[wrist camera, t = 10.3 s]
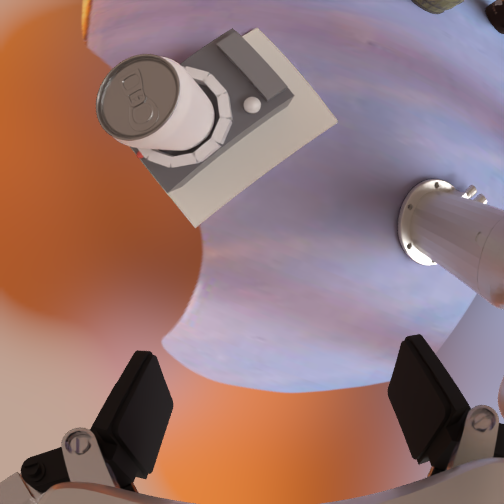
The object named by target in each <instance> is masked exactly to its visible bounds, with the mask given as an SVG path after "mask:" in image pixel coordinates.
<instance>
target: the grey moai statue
mask: <svg viewBox="0 0 504 504" xmlns="http://www.w3.org/2000/svg"><path fill="white" fill-rule="evenodd" d="M412 1H413V2H414V3H415V4H416V5H418V6H419V7H420V8H422V9H424V10H425V11H427V12H430V13H432V14H440V13H442V12H444V11H445V10H448V9H451V8H453V7H454V6H456V5H458V4H460V3H461V2H463V1H464V0H412Z"/></svg>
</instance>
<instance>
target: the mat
mask: <svg viewBox="0 0 504 504" xmlns="http://www.w3.org/2000/svg"><path fill="white" fill-rule="evenodd" d="M242 37H243V38H244V39H245V40H246V41H247V42H248V43H249V44H250V45H251V46H252V47H253V48H254V50H255V51H256V52H257V53H258V54H259V55H260V56H261V57H262V58H263V59H264V60H265V61H266V62H267V63H268V64H269V66H270V67H271V68H272V69H273V70H274V71H275V72H276V73H277V75H278V76H279V77H280V78H281V79H282V80H283V81H284V83H285V84H286V85H287V86H288V88H289V89H290V91H291V92H292V93H293V94H294V97H293V99H292V100H291V102H290V103H289V105H288V106H287V107H286V108H284V109H283V110H281V111H280V112H279V113H277V114H276V115H274V116H273V117H271V118H270V119H268V120H267V121H266V122H264V123H263V124H261V125H260V126H259V127H257V128H256V129H254V130H253V131H252V132H250V133H249V134H248V135H246V136H245V137H244V138H242V139H241V140H240V141H238V142H237V143H236V144H234V145H233V146H232V147H230V148H229V149H228V150H227V151H225V152H224V153H223V154H221V155H220V156H219V157H218V158H216V159H215V160H214V161H213V162H211V163H210V164H209V165H208V166H206V167H205V168H204V169H203V170H201V171H200V172H199V173H198V174H197V175H195V176H194V177H193V178H192V179H191V180H189V181H188V182H187V183H186V184H185V185H184V186H182V187H181V188H178V189H176V190H174V191H171V192H169V193H167V192H166V191H165V192H166V193H167V194H168V195H169V197H170V198H171V199H172V200H173V202H174V203H175V204H176V205H177V206H178V208H179V209H180V210H181V211H182V213H183V214H184V215H185V216H186V217H187V219H188V220H189V221H190V222H191V224H192V225H193V226H194V227H195V228H196V227H197V226H198V225H200V224H201V223H202V222H203V221H205V220H206V219H207V218H208V217H210V216H211V215H212V214H213V213H215V212H216V211H217V210H218V209H220V208H221V207H222V206H223V205H225V204H226V203H227V202H229V201H230V200H231V199H232V198H234V197H235V196H236V195H238V194H239V193H240V192H242V191H243V190H244V189H245V188H247V187H248V186H249V185H251V184H252V183H253V182H255V181H256V180H257V179H259V178H260V177H261V176H263V175H264V174H265V173H267V172H268V171H270V170H271V169H272V168H274V167H275V166H276V165H278V164H279V163H280V162H282V161H283V160H285V159H286V158H287V157H289V156H290V155H292V154H293V153H294V152H296V151H297V150H299V149H300V148H301V147H303V146H304V145H306V144H307V143H309V142H310V141H311V140H313V139H314V138H316V137H317V136H319V135H320V134H322V133H323V132H324V131H326V130H327V129H329V128H330V127H332V126H333V125H335V124H336V123H338V121H337V119H336V118H335V117H334V115H333V114H332V113H331V111H330V110H329V109H328V107H327V106H326V105H325V103H324V102H323V101H322V100H321V98H320V97H319V96H318V94H317V93H316V92H315V91H314V89H313V88H312V87H311V86H310V85H309V83H308V82H307V81H306V80H305V78H304V77H303V76H302V75H301V74H300V73H299V71H298V70H297V69H296V68H295V67H294V66H293V65H292V63H291V62H290V61H289V60H288V59H287V58H286V57H285V56H284V55H283V54H282V52H281V51H280V50H279V49H278V48H277V47H276V46H275V45H274V44H273V43H272V42H271V41H270V40H269V39H268V38H267V37H266V36H265V35H264V34H263V33H262V32H261V31H260V30H259V29H258V28H256V29H254V30H252V31H250V32H249V33H247V34H245V35H244V36H242ZM130 148H131V147H130ZM131 149H132V148H131ZM134 153H135V152H134ZM135 154H136V153H135ZM139 159H140V158H139ZM141 162H142V161H141ZM142 163H143V162H142ZM143 164H144V163H143ZM145 167H146V166H145ZM146 168H147V167H146ZM149 172H150V171H149ZM150 173H151V172H150ZM152 176H153V175H152ZM153 177H154V176H153ZM154 178H155V177H154ZM156 181H157V180H156ZM157 182H158V181H157ZM158 183H159V182H158ZM161 187H162V186H161ZM162 188H163V187H162Z"/></svg>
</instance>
